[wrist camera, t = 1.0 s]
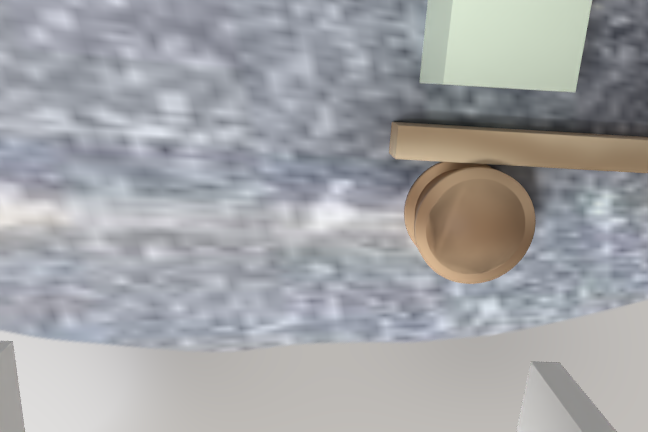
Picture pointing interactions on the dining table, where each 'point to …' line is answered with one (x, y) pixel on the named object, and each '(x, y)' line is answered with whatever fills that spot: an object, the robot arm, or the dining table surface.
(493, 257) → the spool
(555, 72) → the pale green block
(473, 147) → the track
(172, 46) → the dining table surface
